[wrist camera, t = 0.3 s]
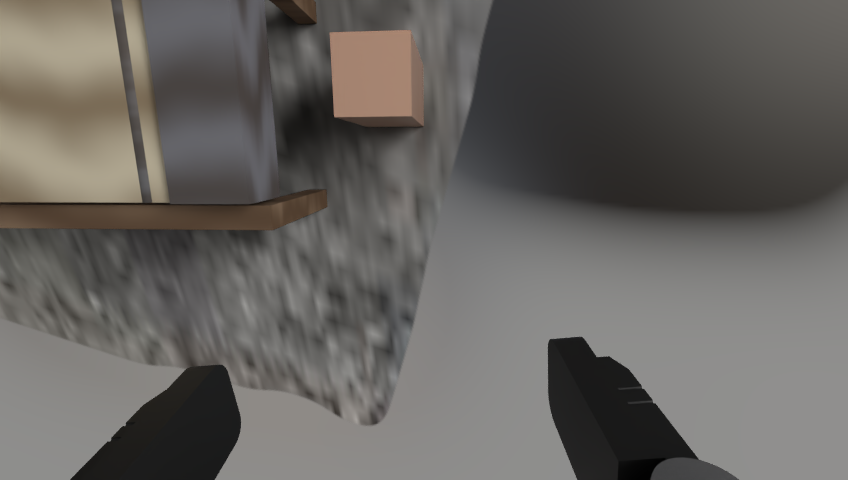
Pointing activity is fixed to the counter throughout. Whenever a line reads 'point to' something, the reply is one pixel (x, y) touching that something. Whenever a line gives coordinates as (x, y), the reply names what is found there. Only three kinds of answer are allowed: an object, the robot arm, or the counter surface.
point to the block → (377, 78)
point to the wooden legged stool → (174, 216)
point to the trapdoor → (136, 102)
